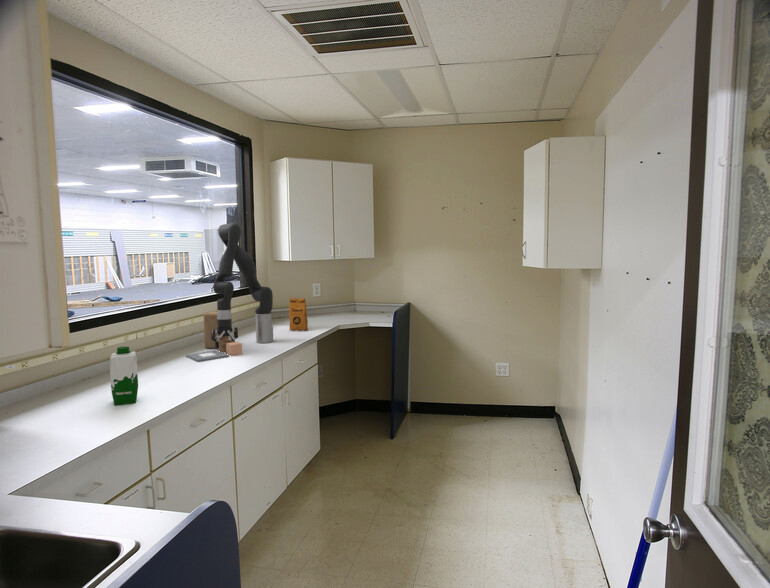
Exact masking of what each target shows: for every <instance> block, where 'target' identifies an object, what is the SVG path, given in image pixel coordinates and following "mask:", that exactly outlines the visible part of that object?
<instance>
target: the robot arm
mask: <svg viewBox="0 0 770 588" xmlns="http://www.w3.org/2000/svg"><path fill="white" fill-rule="evenodd" d="M217 233H218V236H219V238H220V240H221V241H222V243H223V244H224V246H225V247H226V249H225V251H224V253H223V254H222V256H221V257H220V260H219V267H218V273H217V275H216V278H215V280H214V283H213V286H212V287H213V288H212V290H213V292H214V293H215V294H217V295H224V296H223V298H218V299H217V302H216V306H217V307H216V308H217V310H216V311H217V330H211V340H212V341H215V347H216V348H217V349H216V350H218V349H219V342H218V341H219V339H220V338H221V337H225V336H229V338H230V340H233V342H236V339H238V338H239V332H238V327H235V326H234V327H232V326H233V324H232V323H233V321H232V320H233V319H232V316H233V315H232V303H231V302H232V298H233V294H234V290H235V288H234V284H233V282H231V281H229V280H226V279H228V278H231V277H232V275H233V268H234V262H235V265H236V266H237V268H238V271H239V272H240V274H241V275H242V277H243V280H244V281H245V283H246V285H247V287H248V290H249V292H250V295H251V297H252V299H253V300H254V301H255V302H259V306H258V307H257V308H255V310H254V312H255V313H254V314H255V315H254V316H255V342H256V343H258V344H268V343H272V342H274V325H272V324H273V323H272V322H273V321H272V310H273V299H274V298H273V297H274V296H273V290H272V288H271V287H269V286H262V285H261V284H260V282H259V280H258V278H257V266H256V264H255V262H254V260H253V258H252V256H251V255H250V254H249V253H248V252H247V251H246V250H245V249H243V248H242V247H241V246H240V245H239V242H240V240H241V235H242V230H241V227H240V225H239V224H237V223H236V222H231V223H225V224H220V226H219V227H218V230H217ZM225 280H226V281H225ZM216 332H218V335H217V336H216V338H215V334H216ZM232 332H233V333H232Z"/></svg>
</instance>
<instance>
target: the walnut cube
mask: <svg viewBox="0 0 770 588" xmlns="http://www.w3.org/2000/svg"><path fill="white" fill-rule="evenodd" d="M218 342H219V349H217V351H220V352H223V353H224V352H226V343H232V342H233V340H231V338H230V339H226V340H219V341H218ZM224 354H225V353H224Z"/></svg>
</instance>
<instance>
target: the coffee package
mask: <svg viewBox="0 0 770 588" xmlns="http://www.w3.org/2000/svg"><path fill="white" fill-rule="evenodd" d="M306 304H307V303H306V299H305V297H303V298H293V297H292V298H289V306H288V307H289V309H288V314H289V315H288V317H289V328H288V329H289V331H294V330H298V331H297V332H302V331H301V330H306V331H307V329H309V327H308V326H309V325H308V323H309V321H308V315H307V313H308V311H307V305H306Z"/></svg>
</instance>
